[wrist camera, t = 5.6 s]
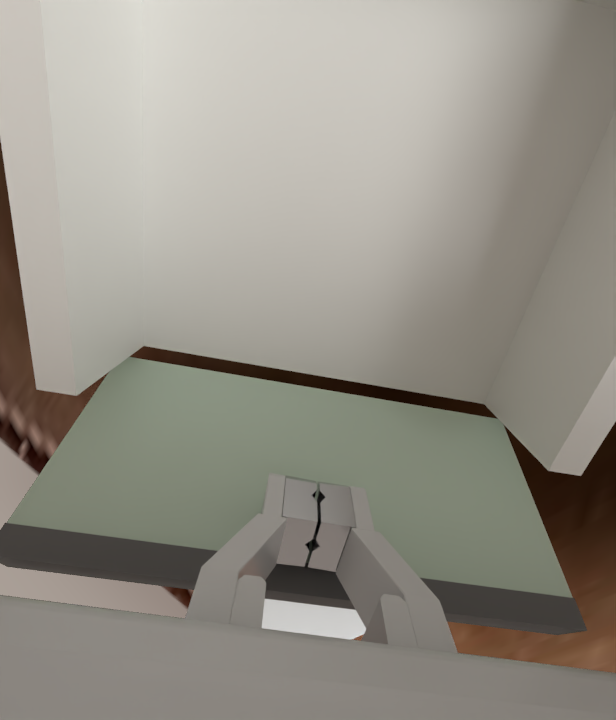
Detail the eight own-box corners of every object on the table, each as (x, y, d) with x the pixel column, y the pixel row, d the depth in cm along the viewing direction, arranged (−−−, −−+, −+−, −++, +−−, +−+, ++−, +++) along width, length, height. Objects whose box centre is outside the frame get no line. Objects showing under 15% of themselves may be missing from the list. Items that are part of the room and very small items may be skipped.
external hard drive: (236, 579, 23) (388, 502, 21) (304, 637, 26) (448, 575, 23) (231, 604, 22) (394, 524, 19) (304, 663, 24) (458, 600, 22)
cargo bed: (665, 8, 11) (1145, -282, 5) (492, 392, 17) (604, 498, 10) (124, -134, 10) (-207, -773, 4) (132, 330, 16) (9, 406, 9)
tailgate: (501, 418, 15) (587, 630, 10) (486, 433, 16) (556, 634, 11) (119, 354, 14) (-17, 554, 9) (126, 374, 15) (7, 566, 10)
